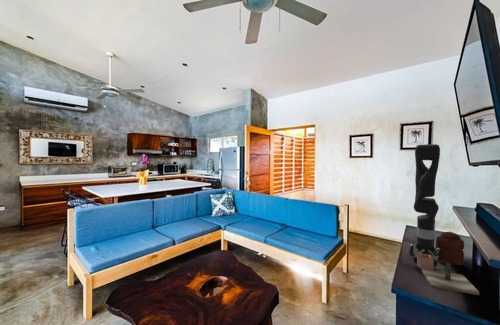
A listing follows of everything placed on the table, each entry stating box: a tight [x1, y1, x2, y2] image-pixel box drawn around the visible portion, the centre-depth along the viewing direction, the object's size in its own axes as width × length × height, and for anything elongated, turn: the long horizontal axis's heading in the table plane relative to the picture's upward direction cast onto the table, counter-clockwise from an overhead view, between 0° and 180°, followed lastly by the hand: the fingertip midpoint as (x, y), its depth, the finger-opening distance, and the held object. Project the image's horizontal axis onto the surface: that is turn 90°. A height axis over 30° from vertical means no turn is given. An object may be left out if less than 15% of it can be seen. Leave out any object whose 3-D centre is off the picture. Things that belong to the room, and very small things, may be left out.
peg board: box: [421, 262, 480, 296], centre depth 105 cm, size 14×17×10 cm
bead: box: [416, 254, 435, 270], centre depth 119 cm, size 6×6×6 cm
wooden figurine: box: [435, 231, 465, 266], centre depth 122 cm, size 12×6×18 cm, turn 77°
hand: (424, 264), depth 119 cm, fingers open, 8 cm apart
